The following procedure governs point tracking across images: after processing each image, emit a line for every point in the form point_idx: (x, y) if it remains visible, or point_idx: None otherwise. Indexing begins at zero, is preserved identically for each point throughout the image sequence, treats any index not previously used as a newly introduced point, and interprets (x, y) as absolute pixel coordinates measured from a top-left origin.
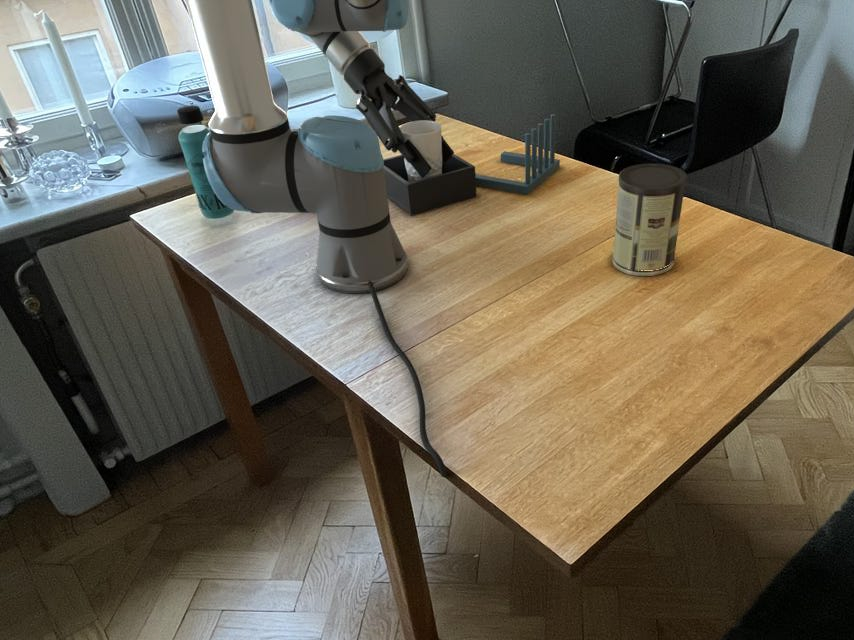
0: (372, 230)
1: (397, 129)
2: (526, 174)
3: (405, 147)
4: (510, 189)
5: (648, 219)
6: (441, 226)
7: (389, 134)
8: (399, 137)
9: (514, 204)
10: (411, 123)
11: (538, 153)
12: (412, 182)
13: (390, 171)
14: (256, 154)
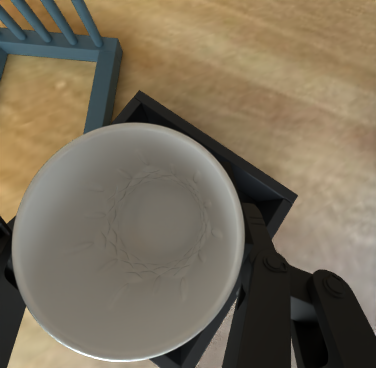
0: None
1: (271, 321)
2: (96, 28)
3: (261, 239)
4: (116, 76)
5: None
6: (278, 133)
7: (365, 328)
8: (285, 277)
9: (162, 58)
10: (61, 324)
11: (20, 1)
12: (278, 191)
13: (235, 289)
14: None
